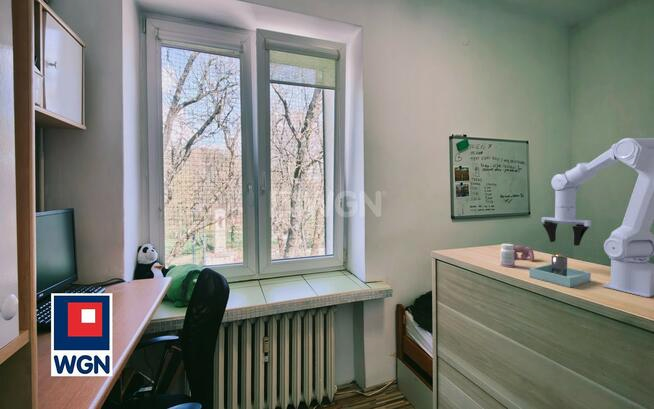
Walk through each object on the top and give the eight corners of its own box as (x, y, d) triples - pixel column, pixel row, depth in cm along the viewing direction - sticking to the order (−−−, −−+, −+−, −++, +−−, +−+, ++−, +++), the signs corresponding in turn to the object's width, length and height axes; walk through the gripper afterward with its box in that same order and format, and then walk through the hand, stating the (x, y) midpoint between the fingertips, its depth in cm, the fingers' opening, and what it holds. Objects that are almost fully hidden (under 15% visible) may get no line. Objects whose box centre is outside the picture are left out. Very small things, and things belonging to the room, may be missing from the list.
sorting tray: (590, 281, 90) (590, 272, 90) (569, 287, 85) (570, 278, 85) (549, 272, 100) (549, 263, 100) (529, 277, 96) (529, 268, 96)
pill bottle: (516, 267, 107) (517, 245, 106) (503, 267, 108) (503, 245, 107) (511, 264, 112) (511, 243, 111) (498, 263, 113) (498, 243, 112)
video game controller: (533, 263, 116) (533, 247, 119) (534, 261, 113) (534, 244, 115) (505, 261, 122) (505, 245, 124) (505, 258, 118) (505, 242, 120)
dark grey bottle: (569, 278, 92) (570, 255, 91) (562, 280, 90) (563, 257, 90) (555, 274, 95) (556, 253, 95) (548, 276, 94) (549, 254, 93)
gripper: (596, 207, 98) (595, 245, 99) (549, 205, 111) (548, 239, 112) (585, 208, 95) (584, 247, 96) (538, 206, 108) (537, 241, 109)
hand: (564, 243), depth 104 cm, fingers open, 7 cm apart
